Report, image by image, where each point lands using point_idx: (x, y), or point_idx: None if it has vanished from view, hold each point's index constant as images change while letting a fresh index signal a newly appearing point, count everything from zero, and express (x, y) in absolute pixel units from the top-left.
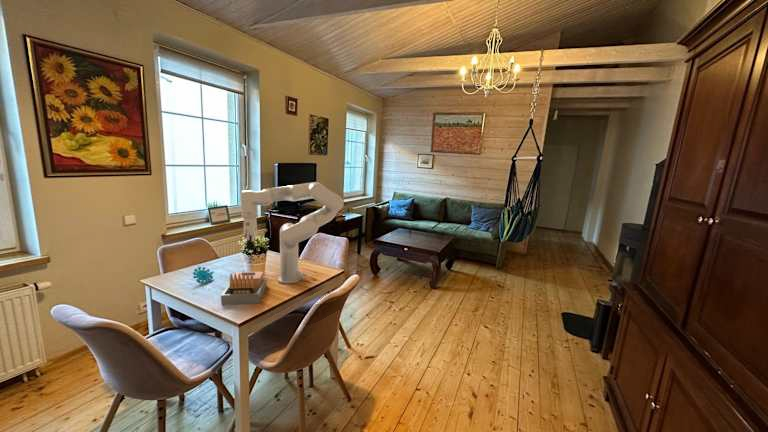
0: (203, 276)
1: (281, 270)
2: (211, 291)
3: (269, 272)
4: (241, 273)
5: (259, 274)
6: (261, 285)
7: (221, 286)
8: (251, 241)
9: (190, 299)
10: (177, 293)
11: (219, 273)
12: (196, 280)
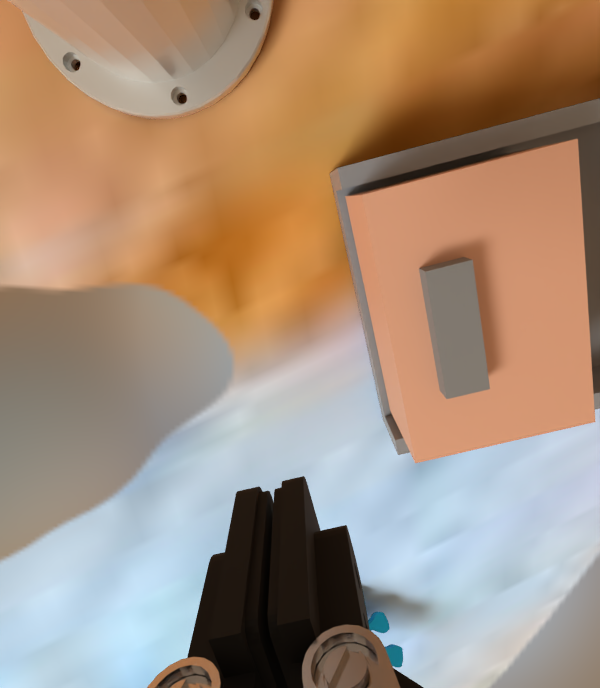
0: None
1: (202, 2)
2: (475, 508)
3: (32, 274)
4: (488, 386)
5: (456, 198)
6: (562, 120)
7: (390, 492)
8: (394, 669)
9: (592, 553)
10: (508, 652)
11: (170, 613)
12: (400, 660)
